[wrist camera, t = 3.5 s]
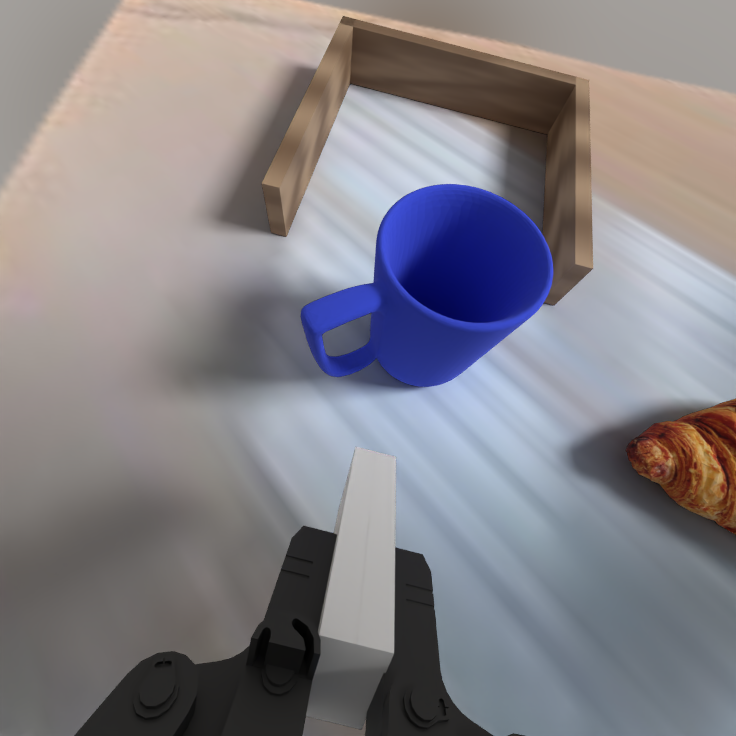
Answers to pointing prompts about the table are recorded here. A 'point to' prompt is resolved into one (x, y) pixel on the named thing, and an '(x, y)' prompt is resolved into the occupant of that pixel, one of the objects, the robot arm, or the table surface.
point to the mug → (439, 286)
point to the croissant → (693, 461)
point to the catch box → (460, 93)
